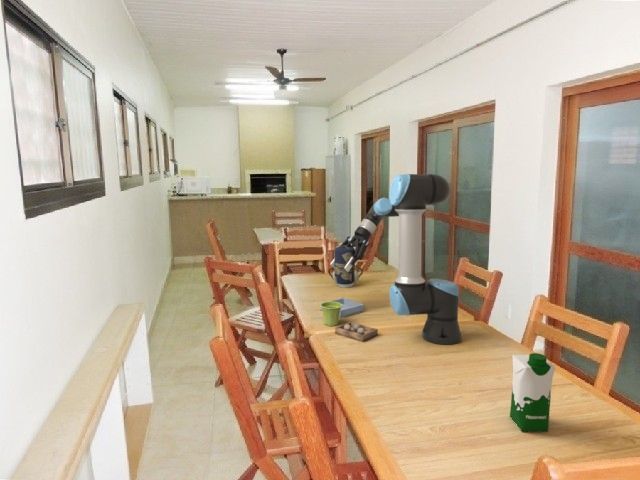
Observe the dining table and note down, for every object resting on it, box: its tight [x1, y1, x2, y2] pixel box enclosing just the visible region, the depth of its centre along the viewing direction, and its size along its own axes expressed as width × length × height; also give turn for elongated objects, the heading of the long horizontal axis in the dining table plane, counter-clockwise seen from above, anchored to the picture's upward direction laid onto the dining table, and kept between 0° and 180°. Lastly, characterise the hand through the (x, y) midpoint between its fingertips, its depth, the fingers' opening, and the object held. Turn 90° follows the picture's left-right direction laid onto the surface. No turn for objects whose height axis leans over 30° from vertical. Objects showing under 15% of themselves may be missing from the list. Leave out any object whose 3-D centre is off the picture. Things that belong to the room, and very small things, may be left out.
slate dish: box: [320, 297, 365, 319], centre depth 217 cm, size 15×15×4 cm
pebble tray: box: [334, 321, 379, 343], centre depth 187 cm, size 14×10×4 cm
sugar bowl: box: [328, 267, 363, 289], centre depth 261 cm, size 20×15×15 cm
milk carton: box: [509, 352, 556, 432], centre depth 120 cm, size 9×9×20 cm
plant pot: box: [321, 301, 342, 327], centre depth 199 cm, size 9×9×9 cm
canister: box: [333, 246, 356, 285], centre depth 214 cm, size 10×10×18 cm
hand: (339, 267), depth 212 cm, fingers closed on canister, 9 cm apart
